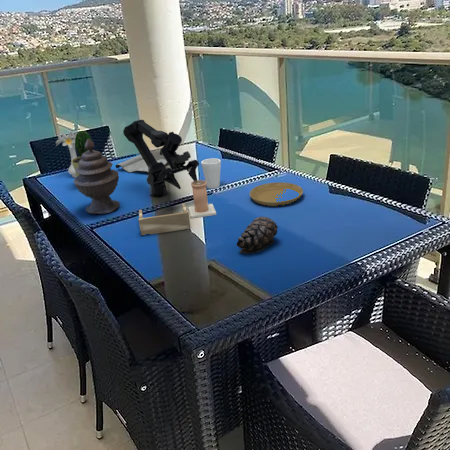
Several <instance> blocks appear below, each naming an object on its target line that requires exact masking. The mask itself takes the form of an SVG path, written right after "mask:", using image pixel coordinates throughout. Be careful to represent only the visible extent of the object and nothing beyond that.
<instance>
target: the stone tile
mask: <svg viewBox="0 0 450 450" xmlns="http://www.w3.org/2000/svg"><path fill="white" fill-rule="evenodd" d="M213 204H214V203H208V211H206V212H196V211H195V207H194V205H193V206H188V207H187V209H188V210H187V211H188V212H189V218H190V219H197V218H204V217H210V216H217V211H216V209H215V207H214V205H213Z"/></svg>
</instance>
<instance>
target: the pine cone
mask: <svg viewBox="0 0 450 450" xmlns="http://www.w3.org/2000/svg"><path fill="white" fill-rule="evenodd" d="M278 228H279V227H278V225H277V223H276V221H274V220H273V219H272V218H270V217H267V216H258V217H256V218H254V219H253V220H252V221H251V222H250V223H249V224H248V225H247V226H246V228H245V229H244V231H243V232H242V233H241V235H240V236H238V237H237V242H236V246H237V247H238V248H240V249H241V250H240V252H239V254H242V253H243V254H246V255H247V254H254V253H255V254H256V253H258V252H261V251H263V250H265V249H266V248H268V247H270V246H271V245H273V244H274V243H275V240H274V238H275V237H276V236H277V234H278Z"/></svg>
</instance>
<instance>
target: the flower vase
mask: <svg viewBox="0 0 450 450" xmlns="http://www.w3.org/2000/svg"><path fill="white" fill-rule="evenodd" d="M78 131H79V130H78ZM78 131H75V133H74V132H73V131H71V130H70V132H69V134H67V135H66V133H65V132H61V134H58V136H57V140H56V141H55V144H56V145H55V147H57V146H58V145H60V144H61V143H62V146H63V147H66V146H67V148H68V150H69V154H70V160H71V161H72V160H73V159H74V158H77V157H78V155H77V150H76V147H75V145H74V144H75V138H76V136H75V135H76V134H77V132H78ZM85 132H86V133H87V134H88V131H85ZM67 171H68V173H69V174H70V175H71V176H72V178H76V177H77V175H76V172H75V170H74V167H73V164H72V162H71V163H70V165H69V167H68V170H67Z"/></svg>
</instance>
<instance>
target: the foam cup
mask: <svg viewBox="0 0 450 450" xmlns="http://www.w3.org/2000/svg"><path fill="white" fill-rule="evenodd" d="M200 163H201V165H200V166H201V168H202V171H203V176H204V179H205V180H204V181H206V182H207V185H206V189H213V188H214V189H218V188H219V187H221V186H220V185H221V166H222V160H221V159H219V158H214V157H212V158H206V159H203V160H202V161H201V162H200Z"/></svg>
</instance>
